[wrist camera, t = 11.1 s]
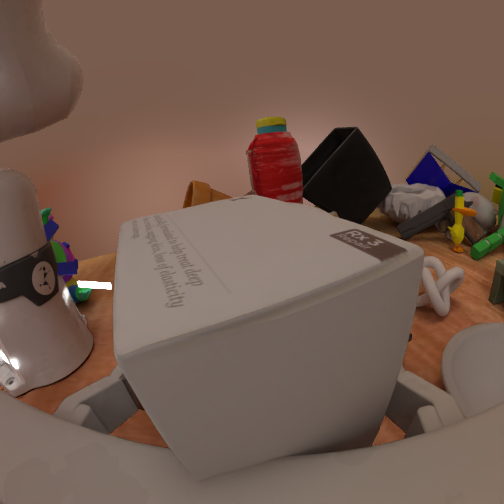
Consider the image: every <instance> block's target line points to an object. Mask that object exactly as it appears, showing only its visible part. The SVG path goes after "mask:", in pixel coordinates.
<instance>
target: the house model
mask: <svg viewBox="0 0 504 504" xmlns="http://www.w3.org/2000/svg"><path fill="white" fill-rule="evenodd" d="M430 153H431V154H432V155H433V156H435V157H436V158H437V159H439V160H440V161H441V162H443V163H444V164H443V165H442V166H441V167H440V166H439V165H438V164H437V162H436V161H435V159H434V158H433V157H432V155H431V154H430ZM445 165H446V166H448V167H449V168H450V169H451V170H453V171H454V172H455V173H456V174H457V175H459V176H460V177H461V179H460V180H459V181H458V182H457V183H458V185H457V183H455V182H454V181H453V180H451V179H450V178H449V177H448V176H447V175H445V174H444V172H443V170H444V167H445ZM442 169H443V170H442ZM447 177H448V178H449V179H450V180H451V181H453V182H454V183H455V184H453V183H452V182H451V181H450V180H449V179H448V178H447ZM463 180H464V181H466V182H467V183H468V184H469V185H470V186H471V187H473V189H471V190H470V189H468V188H465V187H462V186H461V185H462V182H463ZM406 181H407V183H408V184H409V185H412V184H416V183H420V184H427V185H429V186H435V187H438V188H439V189H441V190H442V191H443V193H444V195H445V197H446V198H447V197H449V196H450V195H451V193H452V194H454V193H456V190H463V194H464V193H466V192H474V193H478V192H479V191H480V188H481V184H480V183H479V182H478V181H477V180H476V179H475V178H474V177H473V176H472V175H470V174H469V173H468V172H467V171H466V170H465V169H463V168H462V167H461V166H460V165H459V164H457V163H456V162H455V161H454V160H453V159H451V158H450V157H449V156H447V155H446V154H445V153H444V152H442V151H441V150H440V149H438V148H437V147H436V146H434V145H433V144H432V145H431V146H430V147H429V149H428V150H427V151H426V152H425V154H424V155H423V157H422V158H421V159H420V160H419V162H418V163H417V164H416V165H415V167H414V168H413V169H412V171H411V172H410V173H409V174H408V177H407V179H406ZM460 181H461V182H460ZM459 182H460V183H461V185H460V183H459ZM459 185H460V186H459ZM463 194H462V195H463ZM478 194H479V193H478Z"/></svg>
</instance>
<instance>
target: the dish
mask: <svg viewBox="0 0 504 504" xmlns="http://www.w3.org/2000/svg"><path fill="white" fill-rule="evenodd" d="M441 373H442V379H443V383H444V386H445V389H446V391H447V393H449V394H451V395H453V396H454V397H455V399H456V400H457V402H458V404H459V406H460V408H461V410H462V412H463V414H464V416H465V418H469V417H471V416H474V415H476V414H478V413H481V412H483V411H485V410H487V409H489V408H492V407H494V406H496V405H498V404H500V403H502V402H504V323H483V324H478V325H474V326H471V327H468V328H466V329H463V330H462V331H460V332H458V333H457V334H456V335H454V336H453V337H452V338H451V339H450V341H449V342H448V343H447V345H446V347H445V349H444V351H443V354H442V360H441Z"/></svg>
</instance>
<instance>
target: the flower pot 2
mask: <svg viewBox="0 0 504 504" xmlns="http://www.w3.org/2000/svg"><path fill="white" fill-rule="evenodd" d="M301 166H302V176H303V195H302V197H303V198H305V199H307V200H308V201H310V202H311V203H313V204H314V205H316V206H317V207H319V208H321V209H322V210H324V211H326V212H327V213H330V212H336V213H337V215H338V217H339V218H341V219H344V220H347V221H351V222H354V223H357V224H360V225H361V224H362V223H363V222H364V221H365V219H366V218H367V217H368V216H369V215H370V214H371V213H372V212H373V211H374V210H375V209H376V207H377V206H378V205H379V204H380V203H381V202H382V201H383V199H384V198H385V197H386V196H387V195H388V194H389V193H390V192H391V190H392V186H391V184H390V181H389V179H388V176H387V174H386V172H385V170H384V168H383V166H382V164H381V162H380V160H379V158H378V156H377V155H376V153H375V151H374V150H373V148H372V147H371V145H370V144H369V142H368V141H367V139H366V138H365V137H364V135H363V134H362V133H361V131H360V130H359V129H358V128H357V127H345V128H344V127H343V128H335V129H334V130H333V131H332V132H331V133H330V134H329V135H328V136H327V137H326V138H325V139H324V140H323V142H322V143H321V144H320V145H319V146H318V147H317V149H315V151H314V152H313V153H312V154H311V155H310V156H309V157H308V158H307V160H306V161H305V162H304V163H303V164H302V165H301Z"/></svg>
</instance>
